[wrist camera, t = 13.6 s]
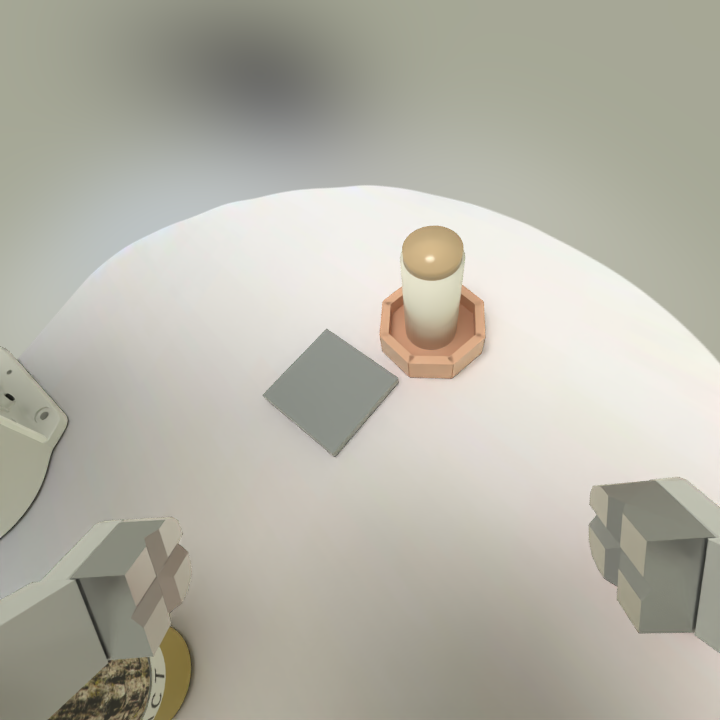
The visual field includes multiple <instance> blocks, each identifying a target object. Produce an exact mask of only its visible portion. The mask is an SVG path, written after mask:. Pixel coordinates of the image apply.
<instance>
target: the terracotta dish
mask: <svg viewBox="0 0 720 720" xmlns="http://www.w3.org/2000/svg"><path fill="white" fill-rule="evenodd" d="M380 341H381V346H382V351H383V352H384V353H385V354H386V355H387V356H388V357H389V358H390V359H391V360H392V361H393V362H394V363H395V364H396V365H397V366H398V367H399V368H400V369H401V370H402V371H403V372H404V373H405V374H406V375H408V376H409V377H418V378H453V377H454V376H455V375H457V374H458V373H459V372H460V371H461V370H462V369H464V368H465V367H466V366H467V365H468V364H469V363H471V362H472V361H473V360H474V359H475V358H476V357H478V356H479V355H480V354H481V353H482V349H483V345H484V341H485V318H484V302H483V300H481V299H480V298H479V297H477V296H476V295H475V294H474V293H472V292H471V291H470V290H468V289H467V288H466V287H464V286H463V285H462V288H461V296H460V305H459V313H458V321H457V330H456V334H455V337H454V339H453V340H452V341H451V342H450V343H449V344H448V345H447V346H445V347H443V348H440V349H437V350H425V349H421V348H419V347H417V346H415V345H414V344H413V343H412V342H411V341H410V340H409V339H408V337H407V335H406V329H405V316H404V303H403V290H402V287H400V288H399V289H398V290H397V291H395V292H394V293H393V294H391V295H390V296H389V297H387V298H386V299H385V300H384V301H383V302H382V314H381V325H380Z"/></svg>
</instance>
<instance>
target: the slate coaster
mask: <svg viewBox="0 0 720 720" xmlns="http://www.w3.org/2000/svg"><path fill="white" fill-rule="evenodd" d="M397 384H398V377H396V376H395V375H393V374H392V373H390V372H389V371H387V370H386V369H385V368H383V367H382V366H380V365H379V364H377V363H376V362H374V361H373V360H371V359H370V358H369V357H367V356H366V355H364V354H363V353H361V352H360V351H358V350H357V349H355V348H354V347H353V346H351V345H350V344H348V343H347V342H345V341H344V340H342V339H341V338H340V337H338V336H337V335H335V334H334V333H332V332H331V331H329V330H328V329H326V330H325V331H324V332H323V333H322V334H321V335H320V336H319V337H318V338H317V339H316V340H315V341H314V342H313V343H312V344H311V345H310V346H309V348H308V349H307V350H306V351H305V352H304V353H303V354H302V355H301V356H300V357H299V358H298V359H297V360H296V361H295V362H294V363H293V364H292V365H291V366H290V367H289V368H288V369H287V370H286V371H285V372H284V373H283V374H282V376H281V377H280V378H279V379H278V380H277V381H276V382H275V383H274V384H273V385H272V386H271V387H270V388H269V389H268V390H267V391H266V392H265V393H264V394H263V396H264V397H265V398H266V399H267V400H268V401H269V402H270V403H271V404H272V405H274V406H275V407H276V408H277V409H278V410H280V411H281V412H282V413H283V414H284V415H286V416H287V417H288V418H289V419H290V420H291V421H293V422H294V423H295V424H296V425H297V426H299V427H300V428H301V429H302V430H303V431H304V432H306V433H307V434H308V435H309V436H310V437H312V438H313V439H314V440H315V441H316V442H318V443H319V444H320V445H321V446H322V447H323V448H325V449H326V450H327V451H328V452H329V453H331V454H332V455H333V456H334V457H335V456H336V455H337V454H338V453H339V452H340V450H341V449H342V448H343V447H344V446H345V445H346V443H347V442H348V441H349V440H350V439H351V437H352V436H353V435H354V434H355V433H356V432H357V430H358V429H359V428H360V427H361V426H362V425H363V423H364V422H365V421H366V420H367V419H368V418H369V416H370V415H371V414H372V413H373V412H374V411H375V409H376V408H377V407H378V406H379V405H380V403H381V402H382V401H383V400H384V399H385V398H386V396H387V395H388V394H389V393H390V392H391V391H392V389H393V388H394V387H395V386H396V385H397Z"/></svg>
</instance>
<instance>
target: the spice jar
mask: <svg viewBox="0 0 720 720" xmlns="http://www.w3.org/2000/svg"><path fill="white" fill-rule="evenodd" d="M464 263H465V253H464V250H463V243H462V240H461V238H460V237H459V236H458V235H457V234H456V233H455V232H454V231H452V230H450V229H448V228H445V227H442V226H427V227H422V228H420V229H417V230H415V231H414V232H412V233H411V234H410V235H409V236H408V237H407V238H406V239H405V241H404V243H403V247H402V252H401V256H400V264H401V277H402V290H403V303H404V316H405V329H406V335H407V337H408V339H409V340H410V341H411V342H412V343H413V344H414V345H415V346H417V347H419V348H421V349H425V350H437V349H440V348H443V347H445V346H447V345H448V344H449V343H450V342H451V341H452V340H453V339H454V337H455V334H456V330H457V321H458V313H459V305H460V296H461V288H462V280H463V271H464Z"/></svg>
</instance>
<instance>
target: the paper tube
mask: <svg viewBox="0 0 720 720" xmlns="http://www.w3.org/2000/svg"><path fill="white" fill-rule="evenodd" d="M190 676H191V659H190V654H189V650H188V647H187V645H186V643H185V641H184V639H183V638H182V636H181V635H180V634H179V633H178V632H177V631H176V630H175V629H173V628H171V627H169V629H168V631H167V632H166V634H165V636H164V638H163V640H162V642H161V644H160V646H159V647H158V649H157V651H156V653H155V655H154V657H142V658H130V659H118V660H108V664H107V665H105V666H104V667H103V668H102V669H101V670H100V671H99V672H98V673H97V674H96V675H95V676H94V677H93V678H92V679H91V680H89V681H88V682H87V683H86V684H85V685H84V686H83V687H82V688H81V689H80V690H79V691H78V692H77V693H76V694H75V695H74V696H72V697H71V698H70V699H69V700H68V701H67V702H66V703H65V704H64V705H63V706H62V707H61V708H60V709H59V710H58V711H56V712H55V713H54V714H53V715H52V716H51V717H50V718H49V719H48V720H171V719H172V718H173V717H174V716H175V714H176V713H177V711H178V710H179V708H180V707H181V705H182V703H183V701H184V698H185V696H186V693H187V691H188V687H189V683H190Z"/></svg>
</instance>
